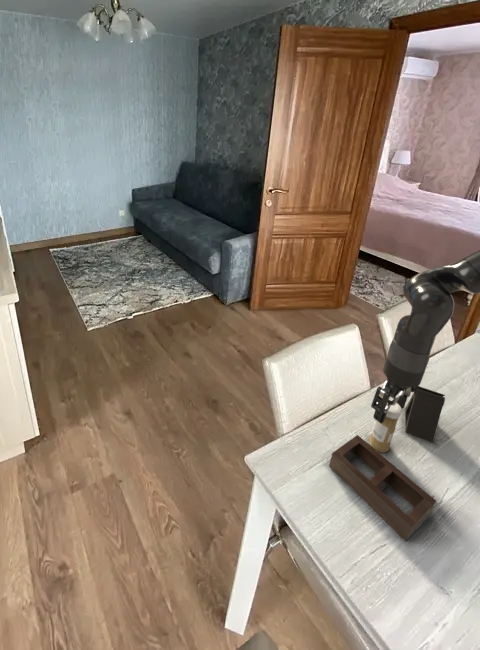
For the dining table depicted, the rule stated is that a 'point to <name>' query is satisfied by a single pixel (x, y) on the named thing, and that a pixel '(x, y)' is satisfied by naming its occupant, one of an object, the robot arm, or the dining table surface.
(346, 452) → the holder
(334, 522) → the dining table surface
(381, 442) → the sprinkles bottle
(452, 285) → the robot arm
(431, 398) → the phone stand
